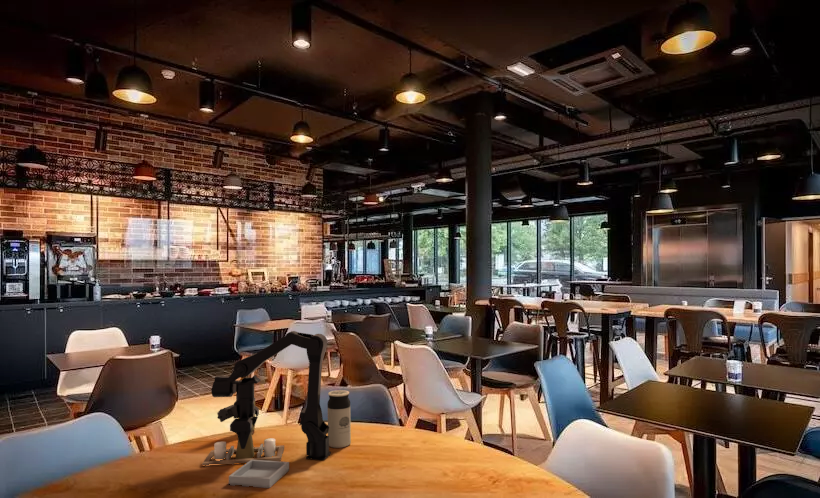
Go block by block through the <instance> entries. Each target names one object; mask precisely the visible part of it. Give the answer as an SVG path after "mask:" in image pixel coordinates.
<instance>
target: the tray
mask: <svg viewBox="0 0 820 498" xmlns="http://www.w3.org/2000/svg"><path fill="white" fill-rule="evenodd" d="M289 471H290V461H282V460H281V461H265V460H250V461H249V462H247V463H246V464H244V465H242V466H241V467H239V468H238V469H236V470H235V471H233V472H232V473H231V474H230V475H228V485H229V484H230V485H229V486H235V485H242V486H241V487H249V486H253V488H263V489H264V488H265V489H270V488H271V487H272V486H273V485H275V484H276V483H277V482H278V481H279V480H280V479H281V478H283V477H284V476H285V475H286V474H287V473H288V472H289Z"/></svg>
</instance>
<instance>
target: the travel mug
mask: <svg viewBox="0 0 820 498" xmlns="http://www.w3.org/2000/svg"><path fill="white" fill-rule="evenodd" d="M327 394H328V401H327V425H328V426H329V431H328V433H327V436H329V448H330V447H331V448H334V449H339V448H340V449H341V448H345V447H348V446H349V445H351V443H352V442H351V441H352V439H351V437H352V436H351V428H352V427H351V421H352V420H351V400H350V398H349V396H350V391H348V390H344V389H343V390H342V389H340V390H331V391H329V392H328V393H327Z"/></svg>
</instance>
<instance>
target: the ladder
mask: <svg viewBox="0 0 820 498" xmlns="http://www.w3.org/2000/svg"><path fill="white" fill-rule="evenodd" d="M263 450H264V443H260V445H259V446H256V447H254V451H258V452H256V457H254V458H247V459H236V458H235V459H232V458H231V456H232V455H233V456H234V454H235V453H234V452H236V451H237V448H235V445H230V447H229V448H228V449H227V448H226V452H228V453H227V454H226V459H225V460H220V461H215V460H211V458H212V457H213V455H214V449H211V450H210V451H209V453H208V454H207V456H206V457H205V459H204V460H203V462H202V464H201V465H209V464H232V465H235V464H234V463H247V462H249V461H250V460H265V461H282V457H283V455H282V454H284V451H285V445H283V444H282V445H275V451H277V453H276V455H275V456H273V457H263V454H264V451H263ZM233 453H234V454H233ZM261 455H262V456H261ZM233 456H232V457H233ZM213 458H214V457H213ZM213 458H212V459H213ZM230 458H231V459H230ZM210 460H211V461H210Z"/></svg>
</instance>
